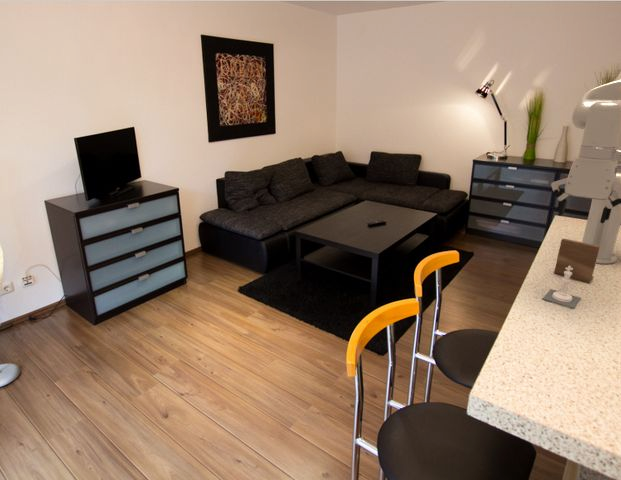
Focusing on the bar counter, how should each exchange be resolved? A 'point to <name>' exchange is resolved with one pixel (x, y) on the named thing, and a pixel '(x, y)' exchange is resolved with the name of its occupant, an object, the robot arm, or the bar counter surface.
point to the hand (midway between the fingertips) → (581, 218)
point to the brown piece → (577, 259)
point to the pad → (570, 304)
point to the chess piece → (564, 287)
